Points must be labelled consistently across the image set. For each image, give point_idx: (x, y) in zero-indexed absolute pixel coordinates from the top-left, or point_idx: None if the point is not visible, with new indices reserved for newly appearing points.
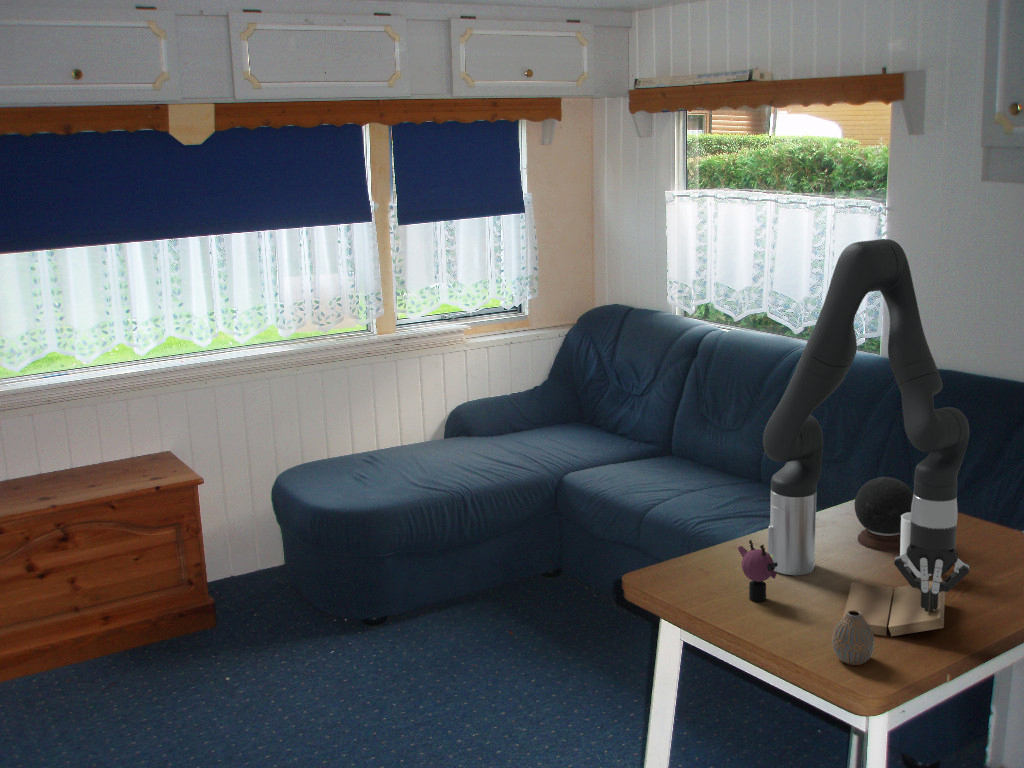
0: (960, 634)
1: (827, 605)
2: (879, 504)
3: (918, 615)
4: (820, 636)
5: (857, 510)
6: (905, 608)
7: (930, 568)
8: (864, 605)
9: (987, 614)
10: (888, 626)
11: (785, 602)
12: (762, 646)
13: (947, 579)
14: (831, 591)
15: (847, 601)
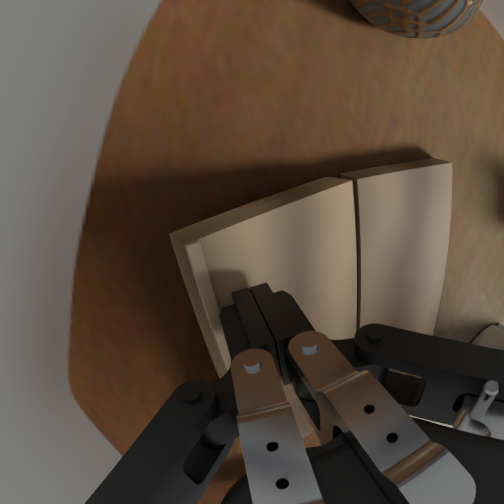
0: (148, 309)
1: (455, 265)
2: None
3: (281, 271)
4: (456, 101)
5: None
6: (326, 316)
7: (346, 477)
8: (414, 282)
9: (145, 422)
10: (352, 184)
11: (501, 231)
12: (497, 33)
13: (213, 459)
14: (444, 325)
15: (443, 278)
